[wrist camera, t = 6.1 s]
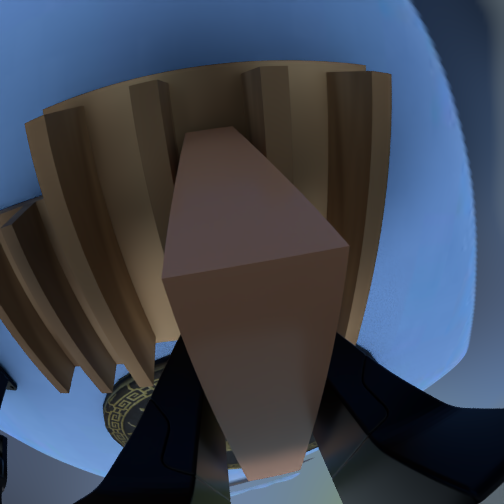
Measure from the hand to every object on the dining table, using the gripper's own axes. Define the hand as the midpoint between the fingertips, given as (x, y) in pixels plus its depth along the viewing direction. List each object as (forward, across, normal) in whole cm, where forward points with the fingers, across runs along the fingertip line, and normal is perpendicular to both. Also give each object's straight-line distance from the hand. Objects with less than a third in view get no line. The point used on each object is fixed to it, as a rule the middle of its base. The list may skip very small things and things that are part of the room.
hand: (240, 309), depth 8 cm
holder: (+6, +11, +3) cm, 13 cm away
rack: (+6, 0, 0) cm, 7 cm away
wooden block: (+5, 0, 0) cm, 5 cm away
